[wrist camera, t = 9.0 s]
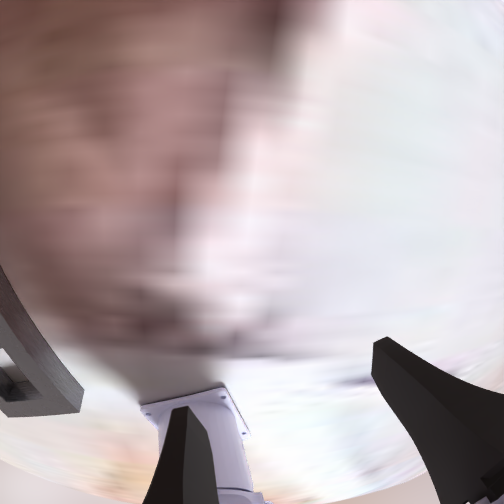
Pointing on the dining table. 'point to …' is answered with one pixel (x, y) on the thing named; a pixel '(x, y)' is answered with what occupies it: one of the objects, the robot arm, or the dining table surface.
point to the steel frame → (32, 366)
